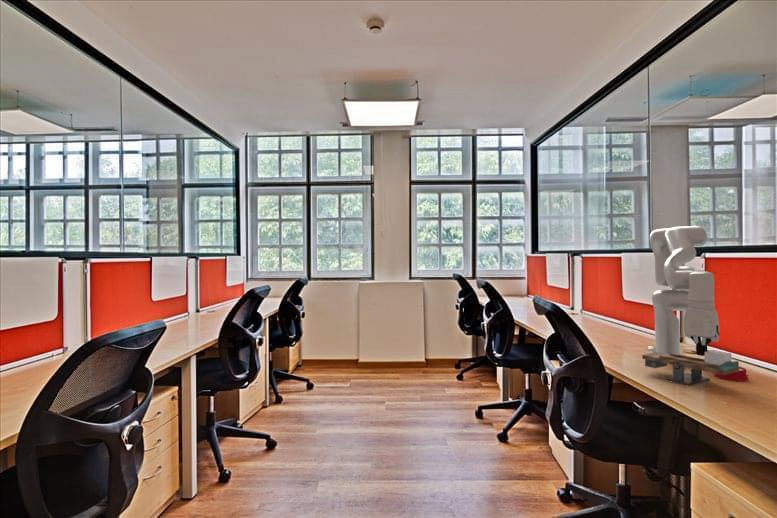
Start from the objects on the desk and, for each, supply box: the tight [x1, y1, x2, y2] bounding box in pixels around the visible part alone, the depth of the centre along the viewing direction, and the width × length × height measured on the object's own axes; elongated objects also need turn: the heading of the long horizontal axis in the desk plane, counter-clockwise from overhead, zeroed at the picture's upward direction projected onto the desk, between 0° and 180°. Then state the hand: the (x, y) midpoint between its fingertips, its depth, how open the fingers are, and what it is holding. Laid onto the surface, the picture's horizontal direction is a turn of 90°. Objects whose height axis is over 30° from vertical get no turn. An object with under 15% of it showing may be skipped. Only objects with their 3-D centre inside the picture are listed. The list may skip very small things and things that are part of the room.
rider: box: [704, 349, 732, 367], centre depth 150 cm, size 6×5×5 cm
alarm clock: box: [713, 366, 750, 383], centre depth 163 cm, size 10×6×15 cm
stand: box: [665, 364, 711, 387], centre depth 159 cm, size 8×15×7 cm, turn 118°
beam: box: [641, 352, 740, 375], centre depth 159 cm, size 28×10×6 cm, turn 28°
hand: (701, 355), depth 155 cm, fingers closed
